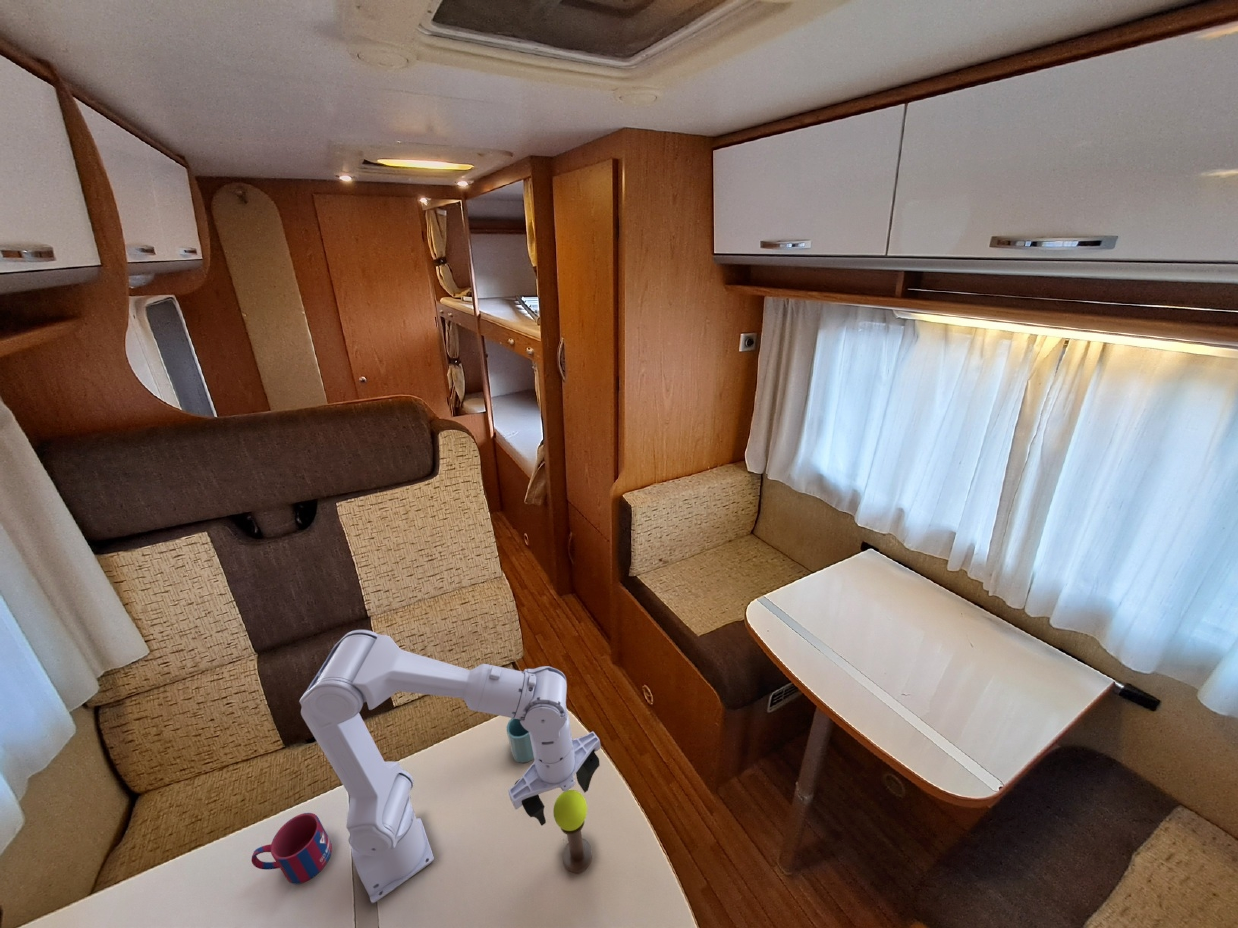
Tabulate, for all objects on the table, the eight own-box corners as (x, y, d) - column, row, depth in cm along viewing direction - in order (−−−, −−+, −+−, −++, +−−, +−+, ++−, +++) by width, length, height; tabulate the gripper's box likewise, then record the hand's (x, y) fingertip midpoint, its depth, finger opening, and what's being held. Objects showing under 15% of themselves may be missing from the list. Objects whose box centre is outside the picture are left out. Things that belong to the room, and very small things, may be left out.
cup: (324, 877, 77) (310, 853, 74) (255, 894, 75) (238, 870, 72) (337, 832, 83) (325, 807, 80) (274, 847, 81) (259, 822, 78)
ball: (566, 846, 70) (562, 825, 68) (549, 816, 74) (545, 796, 72) (594, 822, 73) (592, 802, 71) (577, 795, 77) (574, 775, 74)
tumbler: (519, 768, 91) (513, 743, 88) (507, 747, 95) (502, 723, 92) (543, 751, 94) (539, 727, 91) (531, 732, 98) (526, 708, 95)
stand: (573, 880, 75) (566, 843, 70) (558, 853, 78) (551, 816, 74) (597, 859, 77) (592, 822, 73) (582, 833, 80) (576, 797, 76)
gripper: (518, 799, 63) (532, 858, 68) (609, 734, 70) (615, 792, 76) (496, 758, 68) (511, 816, 74) (583, 702, 76) (590, 758, 81)
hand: (562, 802), depth 75 cm, fingers open, 7 cm apart
